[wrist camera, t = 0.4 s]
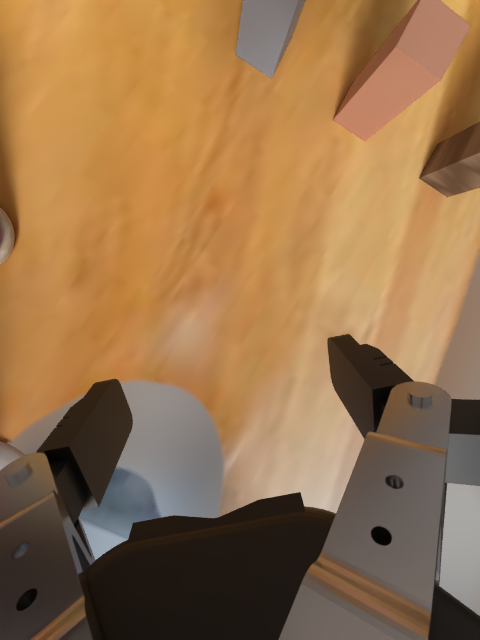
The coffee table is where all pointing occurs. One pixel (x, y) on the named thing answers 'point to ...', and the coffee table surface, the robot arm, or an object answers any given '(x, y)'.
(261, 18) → the pillar slate
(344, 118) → the pillar terracotta
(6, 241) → the stacking toy
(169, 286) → the coffee table surface
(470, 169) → the pillar walnut
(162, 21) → the coffee table surface
